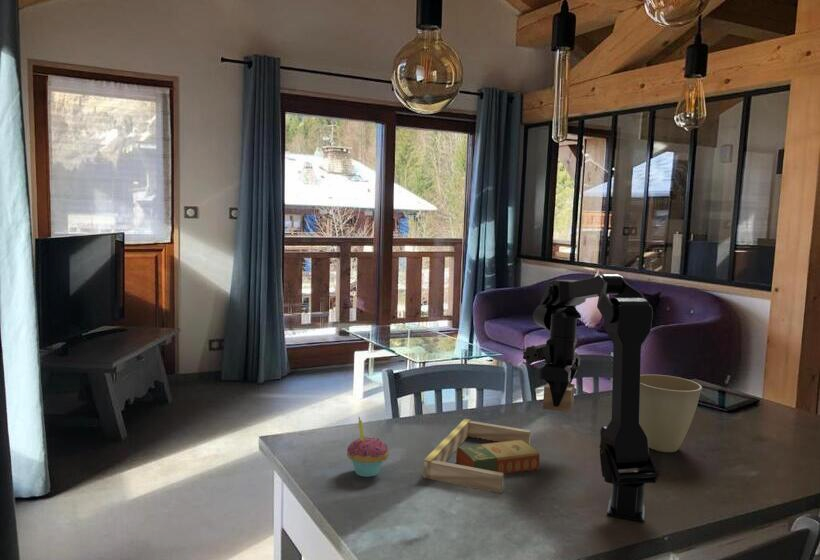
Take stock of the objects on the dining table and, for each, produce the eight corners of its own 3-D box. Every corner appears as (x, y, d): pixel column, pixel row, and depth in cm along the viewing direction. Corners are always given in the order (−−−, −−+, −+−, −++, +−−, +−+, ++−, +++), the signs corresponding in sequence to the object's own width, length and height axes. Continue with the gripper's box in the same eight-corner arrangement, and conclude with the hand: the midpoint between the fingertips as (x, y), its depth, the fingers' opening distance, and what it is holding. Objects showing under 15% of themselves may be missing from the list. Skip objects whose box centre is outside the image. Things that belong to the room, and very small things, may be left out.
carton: (539, 471, 141) (540, 452, 141) (472, 479, 136) (473, 459, 135) (520, 456, 149) (521, 438, 149) (455, 463, 143) (456, 444, 143)
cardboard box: (570, 412, 146) (571, 390, 146) (542, 408, 148) (544, 387, 148) (573, 405, 152) (574, 384, 151) (547, 401, 154) (548, 380, 153)
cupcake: (350, 482, 131) (352, 424, 130) (343, 465, 139) (344, 410, 138) (392, 478, 134) (394, 421, 132) (382, 462, 142) (384, 408, 140)
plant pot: (698, 462, 148) (704, 394, 147) (629, 452, 153) (634, 385, 151) (693, 441, 162) (698, 378, 161) (629, 432, 167) (634, 371, 165)
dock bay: (500, 493, 129) (502, 474, 128) (423, 477, 135) (423, 459, 134) (529, 444, 156) (530, 429, 155) (463, 433, 162) (464, 418, 161)
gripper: (535, 325, 160) (532, 387, 162) (517, 338, 143) (514, 408, 144) (582, 330, 156) (578, 394, 157) (570, 344, 138) (565, 416, 140)
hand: (558, 402), depth 150 cm, fingers closed on cardboard box, 6 cm apart
